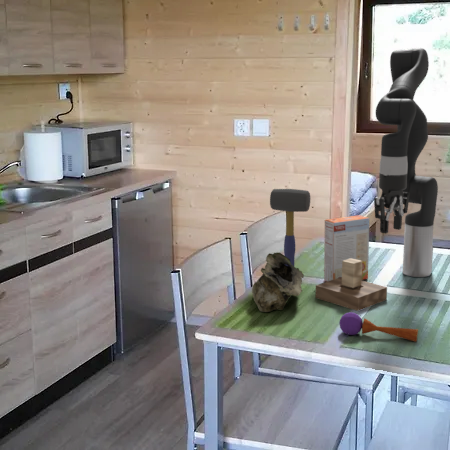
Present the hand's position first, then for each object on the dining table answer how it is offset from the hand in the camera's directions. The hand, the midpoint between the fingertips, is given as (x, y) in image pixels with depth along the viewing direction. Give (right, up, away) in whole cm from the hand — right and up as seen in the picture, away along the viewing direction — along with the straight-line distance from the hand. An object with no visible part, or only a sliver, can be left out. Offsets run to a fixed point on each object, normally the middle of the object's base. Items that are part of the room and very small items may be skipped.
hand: (390, 230), depth 198 cm
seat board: (-9, -21, +15) cm, 27 cm away
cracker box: (-7, -17, +33) cm, 38 cm away
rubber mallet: (-25, -16, +37) cm, 48 cm away
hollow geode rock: (-30, -21, +15) cm, 40 cm away
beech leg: (-9, -21, +15) cm, 27 cm away
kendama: (-7, -28, -14) cm, 32 cm away
